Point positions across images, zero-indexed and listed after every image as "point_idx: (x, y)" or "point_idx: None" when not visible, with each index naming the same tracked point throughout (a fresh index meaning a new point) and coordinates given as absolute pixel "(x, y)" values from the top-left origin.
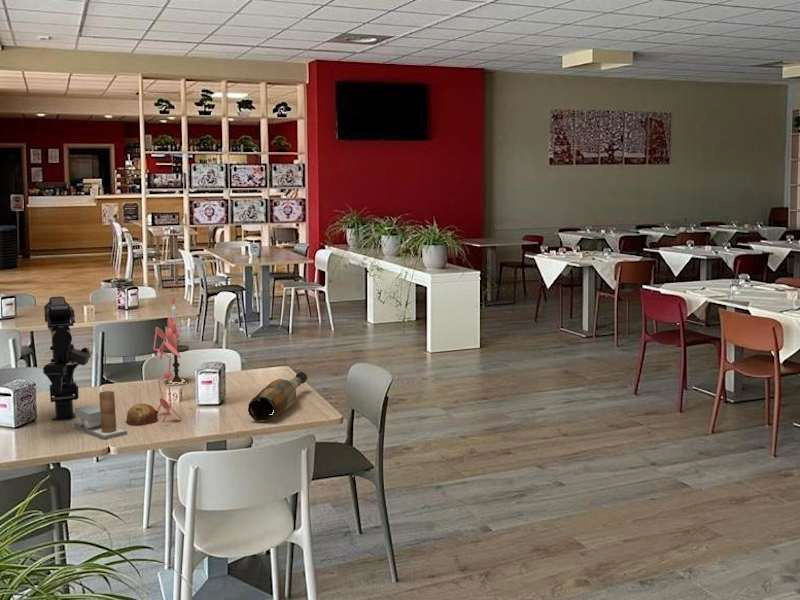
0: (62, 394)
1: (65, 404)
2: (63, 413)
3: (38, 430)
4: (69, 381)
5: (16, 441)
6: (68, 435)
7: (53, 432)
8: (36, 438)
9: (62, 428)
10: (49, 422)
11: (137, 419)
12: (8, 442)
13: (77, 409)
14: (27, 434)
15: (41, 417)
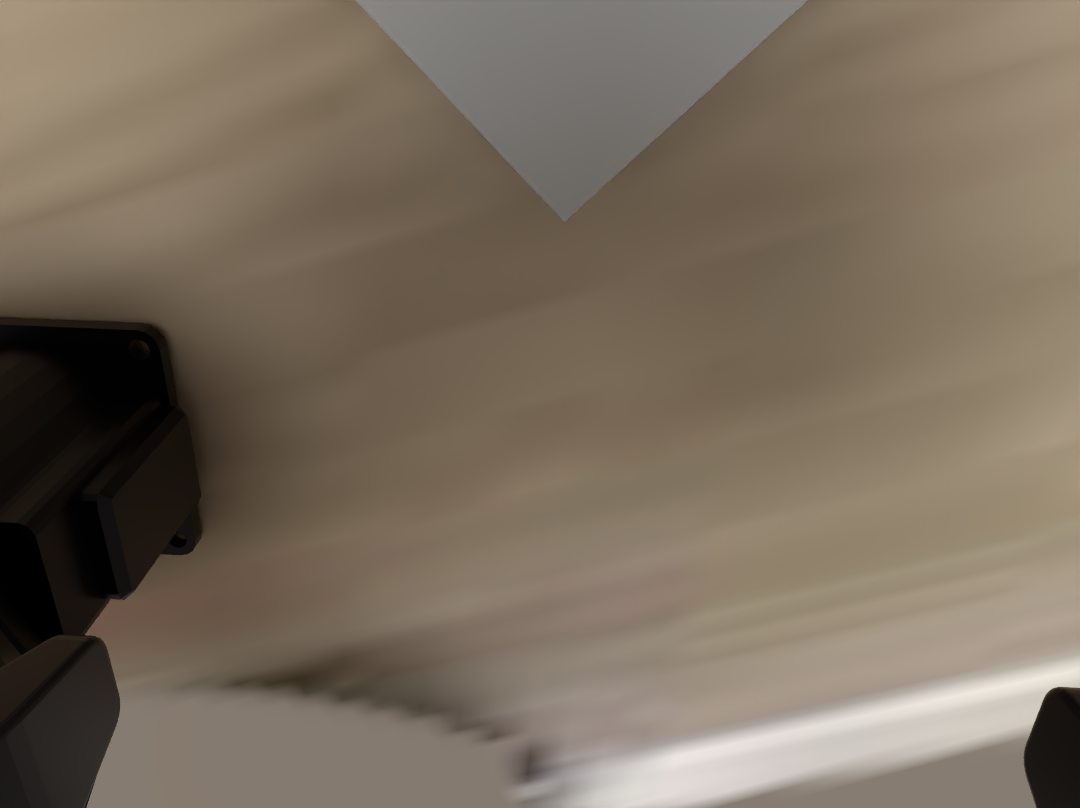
0: (8, 656)
1: (55, 500)
2: (160, 453)
3: (644, 564)
4: (13, 783)
5: (1054, 656)
6: (986, 125)
7: (770, 377)
8: (1000, 498)
9: (590, 317)
10: (305, 539)
11: None
12: None
13: (671, 123)
14: (793, 626)
15: None
